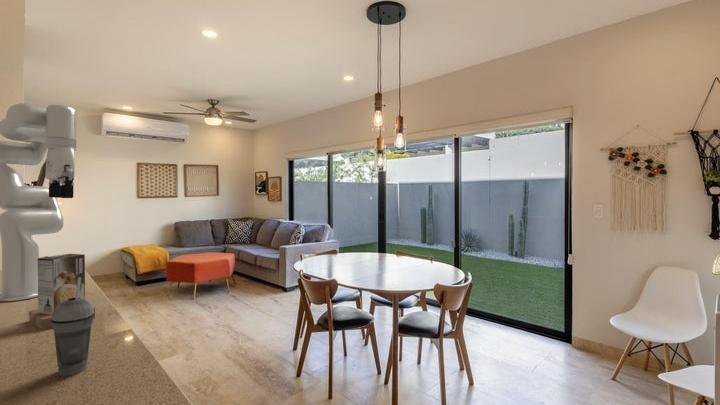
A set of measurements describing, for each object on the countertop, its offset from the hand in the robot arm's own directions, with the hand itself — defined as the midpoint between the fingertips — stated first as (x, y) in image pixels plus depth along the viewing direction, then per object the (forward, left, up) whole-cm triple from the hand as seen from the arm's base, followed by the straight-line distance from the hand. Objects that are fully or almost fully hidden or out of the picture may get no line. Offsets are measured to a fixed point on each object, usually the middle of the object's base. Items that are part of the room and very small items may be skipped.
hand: (60, 197), depth 112 cm
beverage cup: (+51, -13, -36) cm, 64 cm away
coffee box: (+12, -3, -34) cm, 36 cm away
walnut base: (+12, -3, -36) cm, 38 cm away
